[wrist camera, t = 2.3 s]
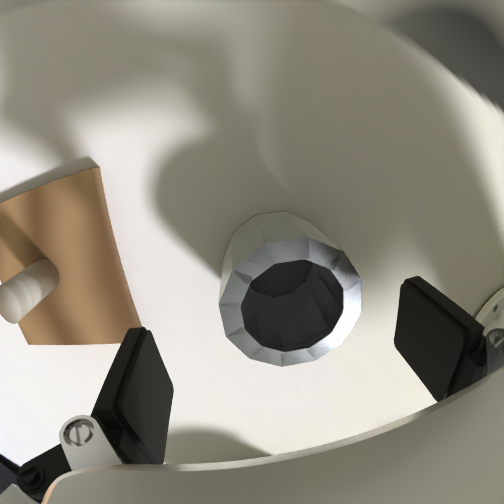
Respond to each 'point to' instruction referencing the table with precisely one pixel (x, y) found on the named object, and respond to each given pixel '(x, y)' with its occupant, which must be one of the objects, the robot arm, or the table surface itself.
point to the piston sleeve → (288, 305)
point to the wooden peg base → (63, 265)
